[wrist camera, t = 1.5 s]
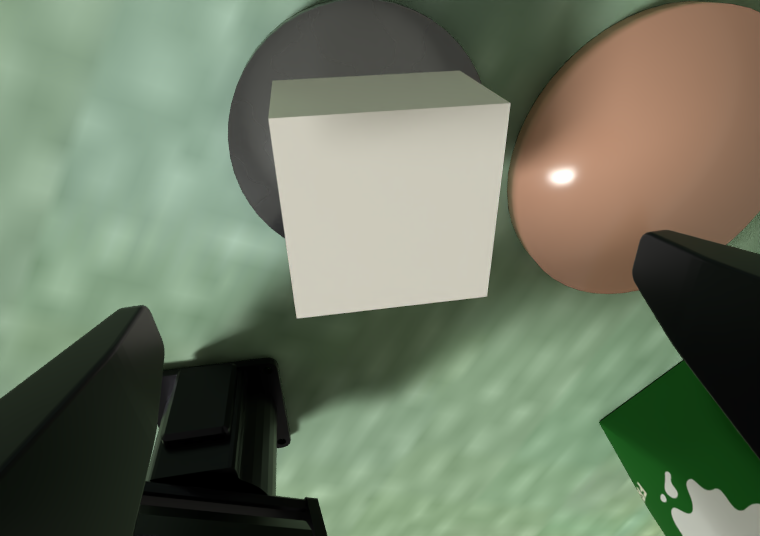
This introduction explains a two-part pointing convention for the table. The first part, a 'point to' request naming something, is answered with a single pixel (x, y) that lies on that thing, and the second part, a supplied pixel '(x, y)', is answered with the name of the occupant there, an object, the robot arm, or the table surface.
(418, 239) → the cream colored cube
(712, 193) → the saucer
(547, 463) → the table surface
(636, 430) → the milk carton
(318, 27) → the grey rounded piece
